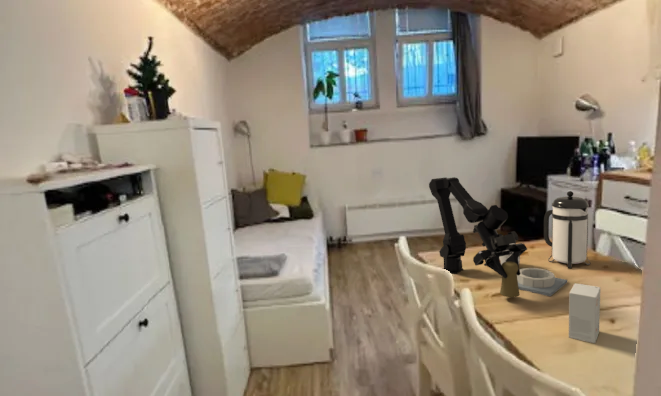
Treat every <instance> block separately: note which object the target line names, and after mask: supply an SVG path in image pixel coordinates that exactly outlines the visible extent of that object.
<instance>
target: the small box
mask: <svg viewBox="0 0 661 396" xmlns="http://www.w3.org/2000/svg"><path fill="white" fill-rule="evenodd" d="M600 308H601V286H597V285H589V284H583V283H573V285H572V287H571V289H570V290H569V293H568V338H570V339H573V340H574V339H575V340H578V341H584V342H586V343H591V344H596V342H597V339H598V336H599V332H600V312H601V311H600V310H601V309H600Z"/></svg>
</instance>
